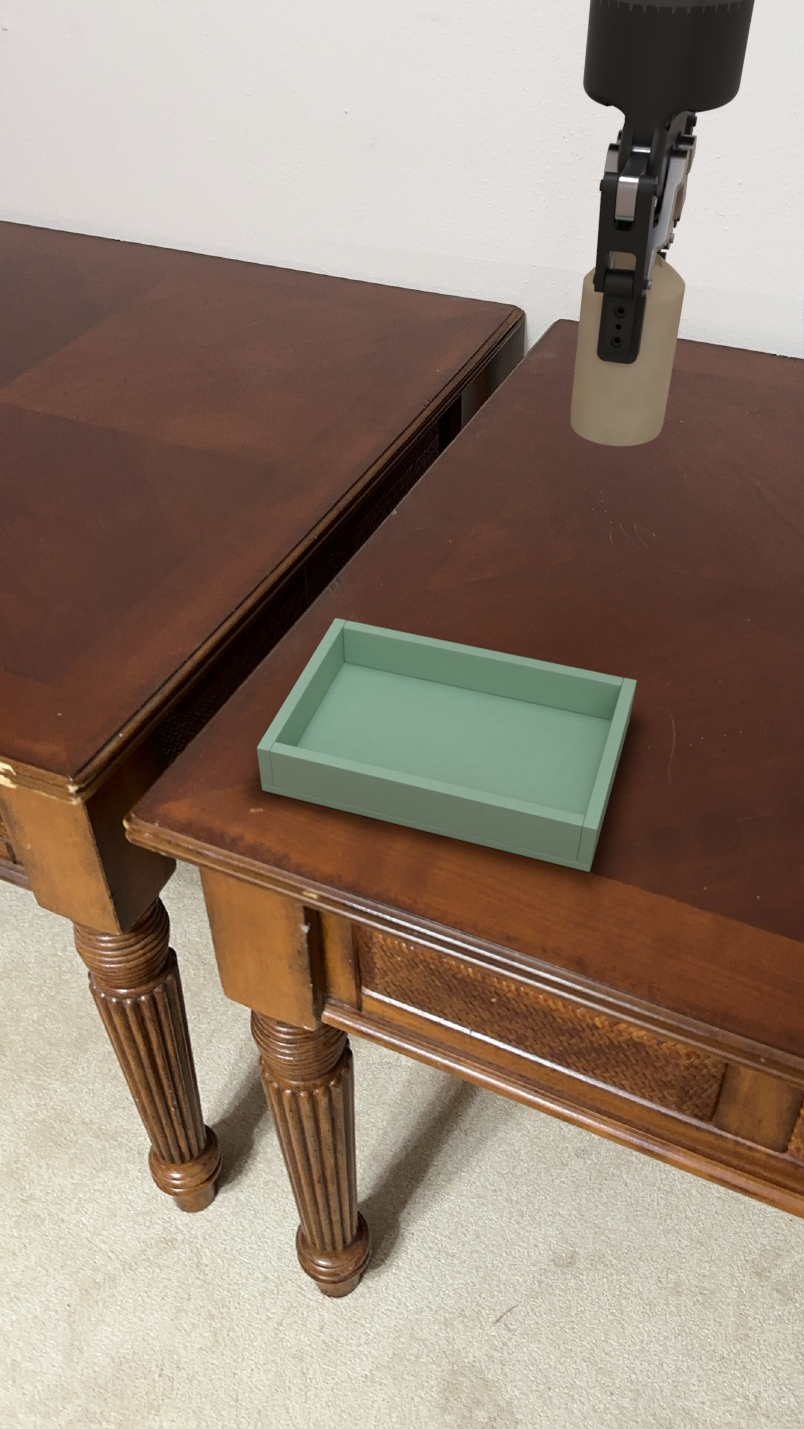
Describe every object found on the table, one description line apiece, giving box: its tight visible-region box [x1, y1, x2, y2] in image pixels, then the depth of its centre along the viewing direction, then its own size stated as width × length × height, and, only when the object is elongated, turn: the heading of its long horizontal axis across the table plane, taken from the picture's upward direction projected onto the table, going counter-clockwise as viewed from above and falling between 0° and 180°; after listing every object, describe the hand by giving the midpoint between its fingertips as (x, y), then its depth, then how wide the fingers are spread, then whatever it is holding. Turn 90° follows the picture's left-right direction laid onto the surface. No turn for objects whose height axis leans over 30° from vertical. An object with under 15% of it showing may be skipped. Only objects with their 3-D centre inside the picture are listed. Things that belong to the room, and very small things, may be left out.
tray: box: [256, 617, 638, 873], centre depth 66 cm, size 20×13×4 cm, turn 72°
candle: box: [569, 252, 686, 447], centre depth 63 cm, size 6×6×10 cm
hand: (627, 336), depth 62 cm, fingers closed on candle, 5 cm apart
